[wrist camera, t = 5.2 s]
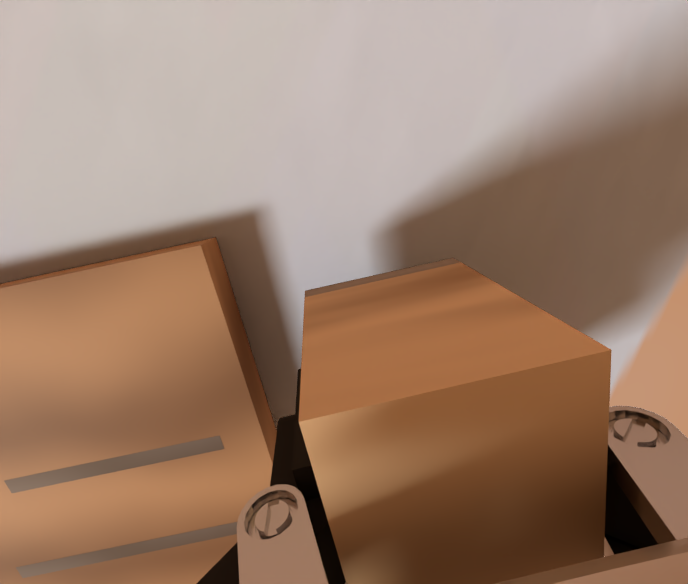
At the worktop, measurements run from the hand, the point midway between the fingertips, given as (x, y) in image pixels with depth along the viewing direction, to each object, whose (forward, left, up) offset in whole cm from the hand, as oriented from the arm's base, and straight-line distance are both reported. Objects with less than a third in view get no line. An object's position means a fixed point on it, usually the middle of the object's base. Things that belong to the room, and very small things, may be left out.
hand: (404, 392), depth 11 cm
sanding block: (0, 0, -1) cm, 1 cm away
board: (+6, -11, -3) cm, 13 cm away
